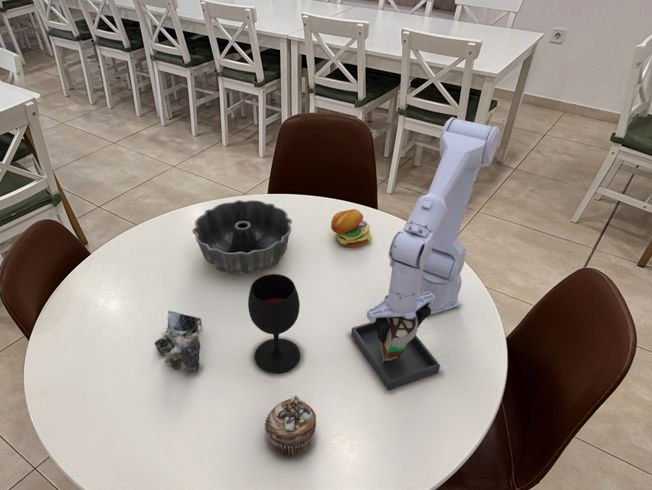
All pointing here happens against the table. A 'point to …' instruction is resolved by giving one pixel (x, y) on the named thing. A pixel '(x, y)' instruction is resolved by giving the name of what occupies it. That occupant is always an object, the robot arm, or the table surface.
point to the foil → (181, 341)
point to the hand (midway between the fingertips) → (396, 335)
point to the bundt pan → (243, 235)
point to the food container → (398, 336)
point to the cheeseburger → (350, 228)
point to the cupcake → (290, 426)
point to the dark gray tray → (403, 369)
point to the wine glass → (274, 321)
